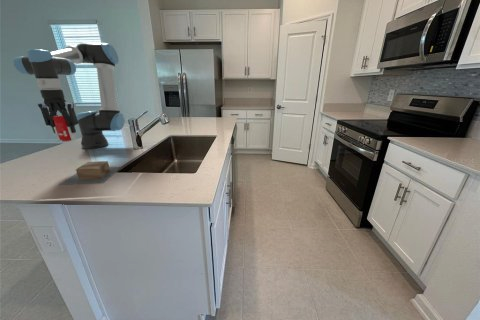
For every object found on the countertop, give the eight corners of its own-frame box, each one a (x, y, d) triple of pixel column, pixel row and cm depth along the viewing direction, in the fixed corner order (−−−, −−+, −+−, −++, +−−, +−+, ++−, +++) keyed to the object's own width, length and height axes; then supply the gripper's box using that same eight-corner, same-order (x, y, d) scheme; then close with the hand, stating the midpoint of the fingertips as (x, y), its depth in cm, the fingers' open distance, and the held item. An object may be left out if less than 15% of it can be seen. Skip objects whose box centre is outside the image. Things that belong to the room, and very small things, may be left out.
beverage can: (58, 140, 96) (50, 115, 92) (71, 138, 100) (63, 114, 96) (64, 142, 94) (55, 116, 89) (76, 139, 98) (68, 115, 94)
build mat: (84, 169, 101) (83, 168, 101) (121, 167, 103) (121, 166, 103) (58, 186, 84) (58, 185, 84) (104, 184, 86) (103, 183, 86)
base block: (90, 171, 97) (87, 161, 95) (110, 170, 98) (107, 161, 96) (78, 179, 89) (75, 169, 87) (100, 178, 90) (97, 168, 88)
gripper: (20, 89, 84) (40, 142, 93) (67, 89, 86) (83, 141, 95) (35, 88, 91) (52, 137, 99) (78, 88, 93) (91, 137, 102)
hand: (67, 139), depth 97 cm, fingers closed on beverage can, 5 cm apart
